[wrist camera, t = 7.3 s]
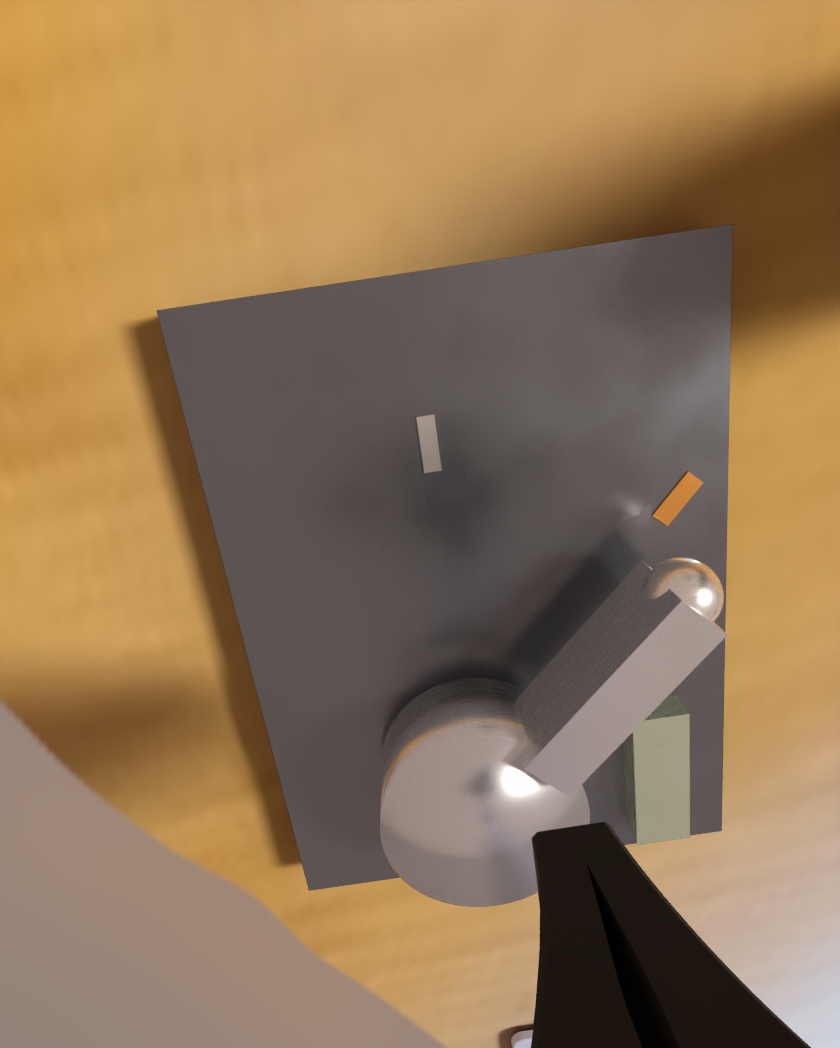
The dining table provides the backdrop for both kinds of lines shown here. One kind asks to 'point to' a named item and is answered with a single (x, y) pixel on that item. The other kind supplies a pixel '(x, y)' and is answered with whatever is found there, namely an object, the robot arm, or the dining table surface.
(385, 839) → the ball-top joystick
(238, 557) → the lever base plate
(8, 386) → the dining table surface
